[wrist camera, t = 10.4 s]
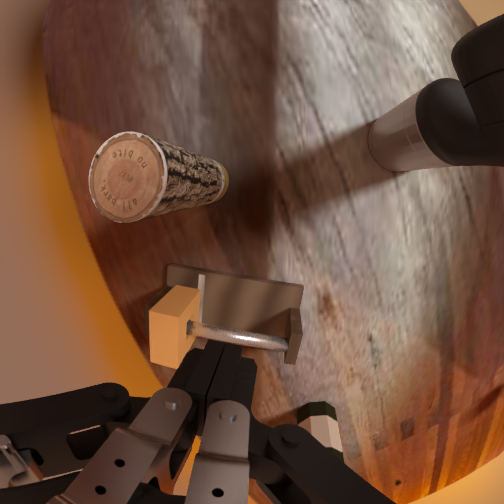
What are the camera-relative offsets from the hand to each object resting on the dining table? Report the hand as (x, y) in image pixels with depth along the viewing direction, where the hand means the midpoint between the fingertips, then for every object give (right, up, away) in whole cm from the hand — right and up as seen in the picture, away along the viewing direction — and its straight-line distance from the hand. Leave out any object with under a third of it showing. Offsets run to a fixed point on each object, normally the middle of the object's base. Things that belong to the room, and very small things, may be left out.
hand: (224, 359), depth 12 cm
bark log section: (-6, +16, +31) cm, 35 cm away
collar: (-9, -5, +32) cm, 33 cm away
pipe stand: (-2, -5, +35) cm, 36 cm away
